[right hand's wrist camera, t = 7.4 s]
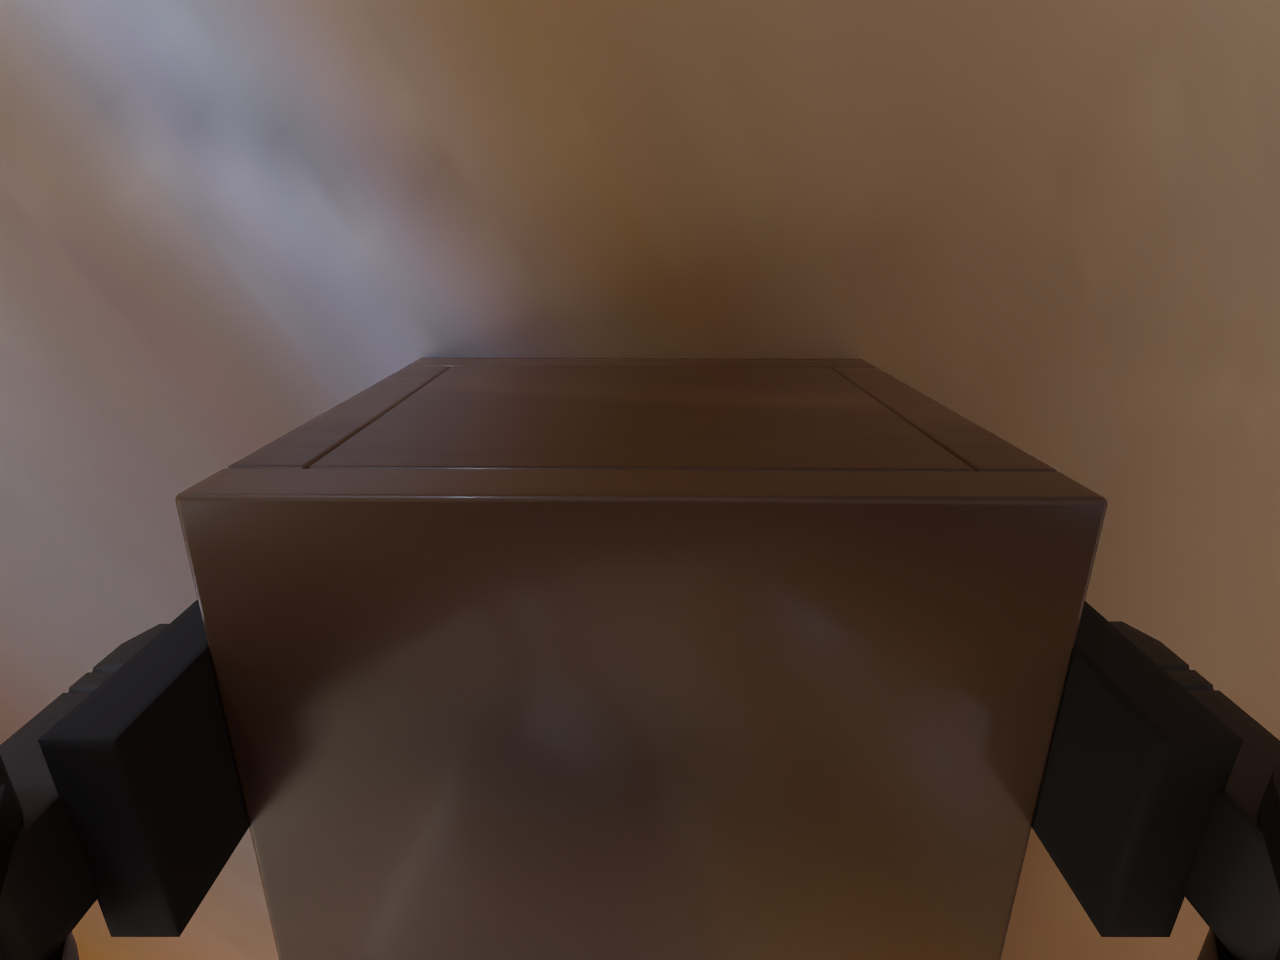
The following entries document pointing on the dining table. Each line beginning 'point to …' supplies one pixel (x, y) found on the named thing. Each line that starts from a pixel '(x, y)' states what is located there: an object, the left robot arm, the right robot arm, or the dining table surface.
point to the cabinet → (640, 662)
